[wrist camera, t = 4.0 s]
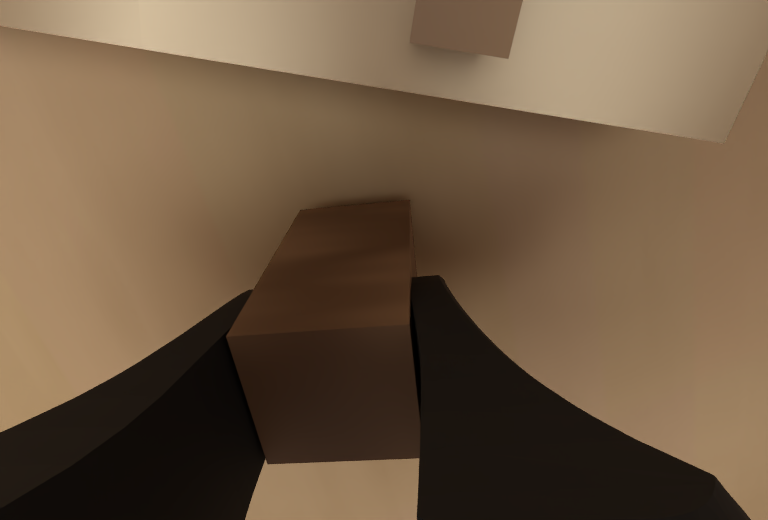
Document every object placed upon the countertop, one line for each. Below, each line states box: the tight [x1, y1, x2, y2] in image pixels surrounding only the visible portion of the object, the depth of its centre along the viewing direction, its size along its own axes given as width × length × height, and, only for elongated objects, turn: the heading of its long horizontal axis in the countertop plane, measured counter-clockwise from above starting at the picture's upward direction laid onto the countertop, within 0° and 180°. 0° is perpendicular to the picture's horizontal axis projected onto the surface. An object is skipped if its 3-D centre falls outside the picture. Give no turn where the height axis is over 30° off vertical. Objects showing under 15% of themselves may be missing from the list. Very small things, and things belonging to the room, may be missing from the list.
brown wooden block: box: [226, 200, 421, 464], centre depth 11 cm, size 3×3×6 cm
